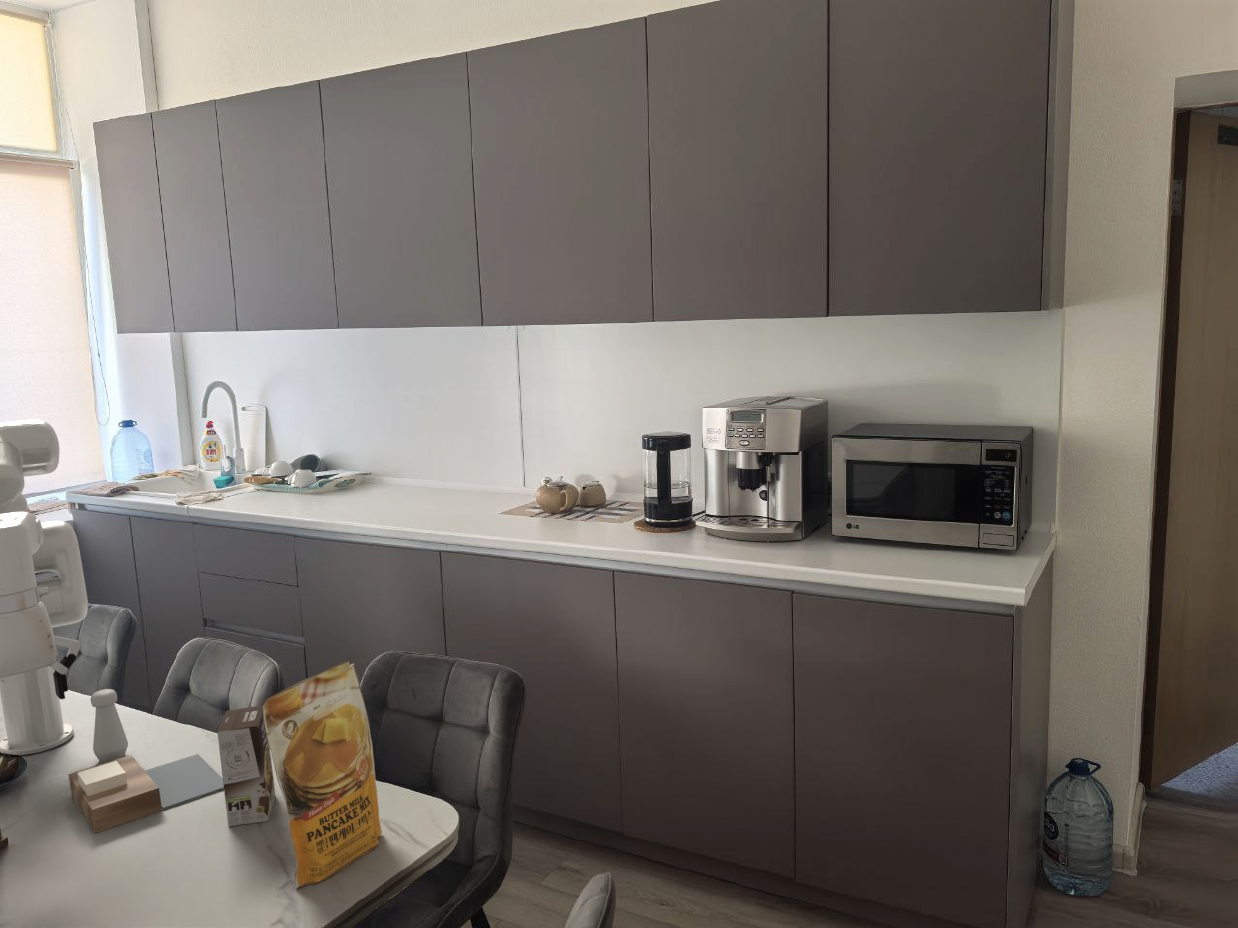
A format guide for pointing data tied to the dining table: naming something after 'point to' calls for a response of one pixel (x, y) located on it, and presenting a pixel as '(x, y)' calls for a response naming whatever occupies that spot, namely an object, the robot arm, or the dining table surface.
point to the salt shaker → (108, 727)
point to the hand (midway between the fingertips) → (26, 705)
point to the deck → (118, 797)
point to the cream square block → (102, 778)
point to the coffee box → (246, 766)
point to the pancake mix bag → (325, 770)
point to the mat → (185, 780)
